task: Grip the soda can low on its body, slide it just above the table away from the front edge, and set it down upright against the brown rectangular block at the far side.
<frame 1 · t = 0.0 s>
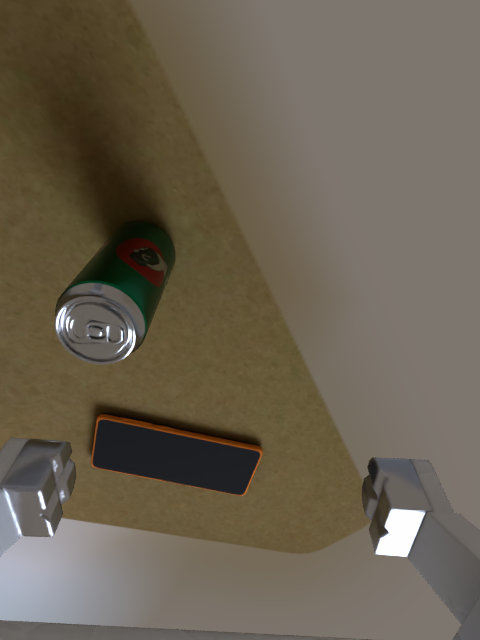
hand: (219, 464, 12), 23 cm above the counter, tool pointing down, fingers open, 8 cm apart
soda can: (144, 249, 33), on the counter
smartphone: (176, 451, 44), on the counter
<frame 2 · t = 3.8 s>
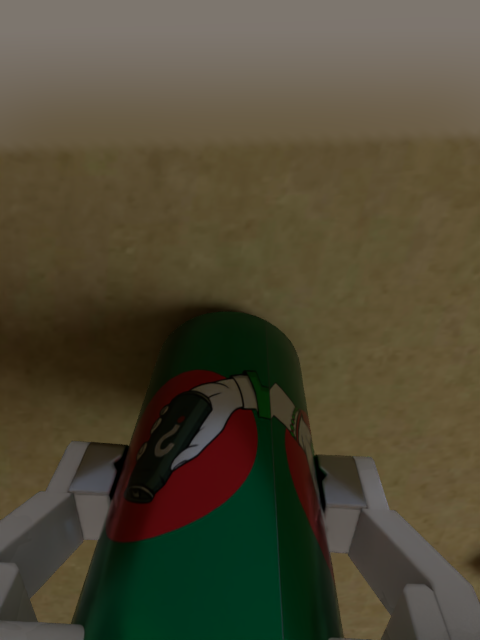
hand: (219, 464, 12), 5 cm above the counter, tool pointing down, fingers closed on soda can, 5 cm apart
soda can: (229, 360, 16), on the counter, touching gripper
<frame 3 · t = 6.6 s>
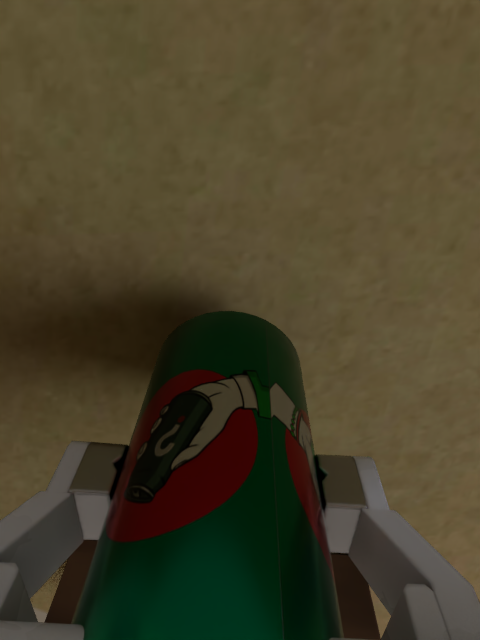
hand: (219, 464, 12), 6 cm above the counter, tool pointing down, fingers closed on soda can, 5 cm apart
soda can: (229, 360, 16), point 1 cm above the counter, touching gripper
brown rectangular block: (218, 557, 24), on the counter
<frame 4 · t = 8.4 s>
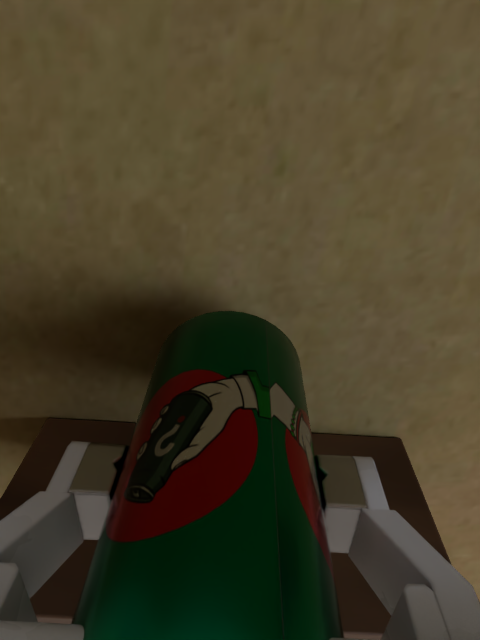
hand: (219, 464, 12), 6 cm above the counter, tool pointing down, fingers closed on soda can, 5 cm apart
soda can: (229, 360, 16), point 1 cm above the counter, touching gripper
brown rectangular block: (223, 443, 20), on the counter
when the fingers open (5 cm above the counter, at t = 9.8 s): soda can stays where it is, on the counter.
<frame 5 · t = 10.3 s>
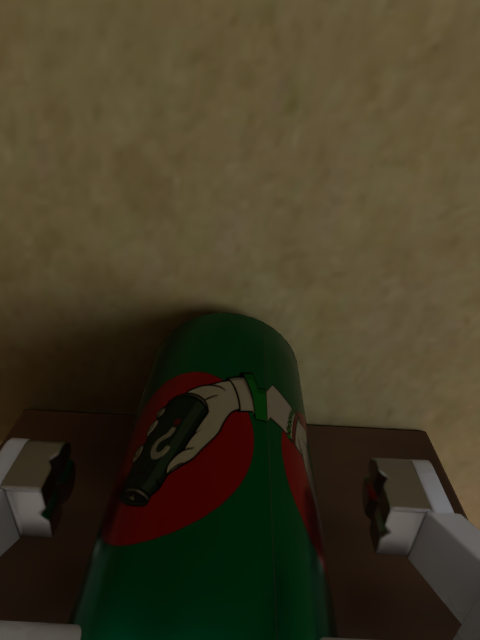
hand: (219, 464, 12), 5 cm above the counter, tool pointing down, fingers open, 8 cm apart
soda can: (227, 361, 16), on the counter
brown rectangular block: (224, 437, 18), on the counter
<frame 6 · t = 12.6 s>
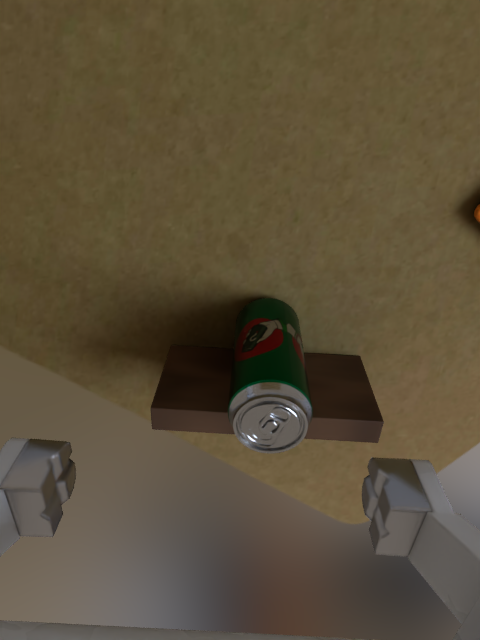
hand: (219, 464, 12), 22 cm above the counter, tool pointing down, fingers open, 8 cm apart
soda can: (267, 321, 35), on the counter
brown rectangular block: (264, 360, 37), on the counter
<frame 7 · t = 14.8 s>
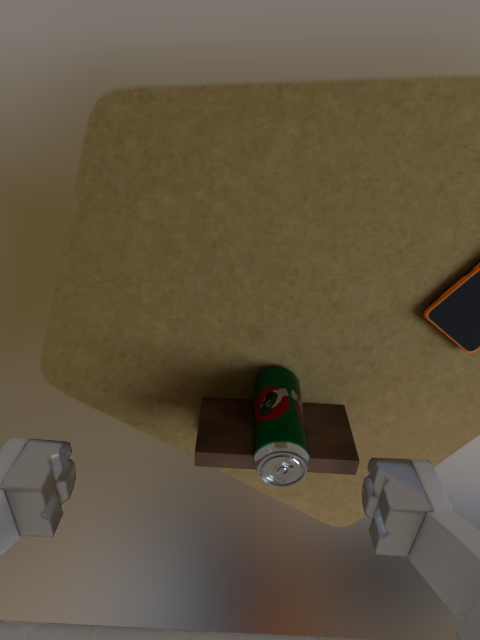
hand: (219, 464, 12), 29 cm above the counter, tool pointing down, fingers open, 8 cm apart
soda can: (275, 381, 47), on the counter
brown rectangular block: (272, 407, 49), on the counter
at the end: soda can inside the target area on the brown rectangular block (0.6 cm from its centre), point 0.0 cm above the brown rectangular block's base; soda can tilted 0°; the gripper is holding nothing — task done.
